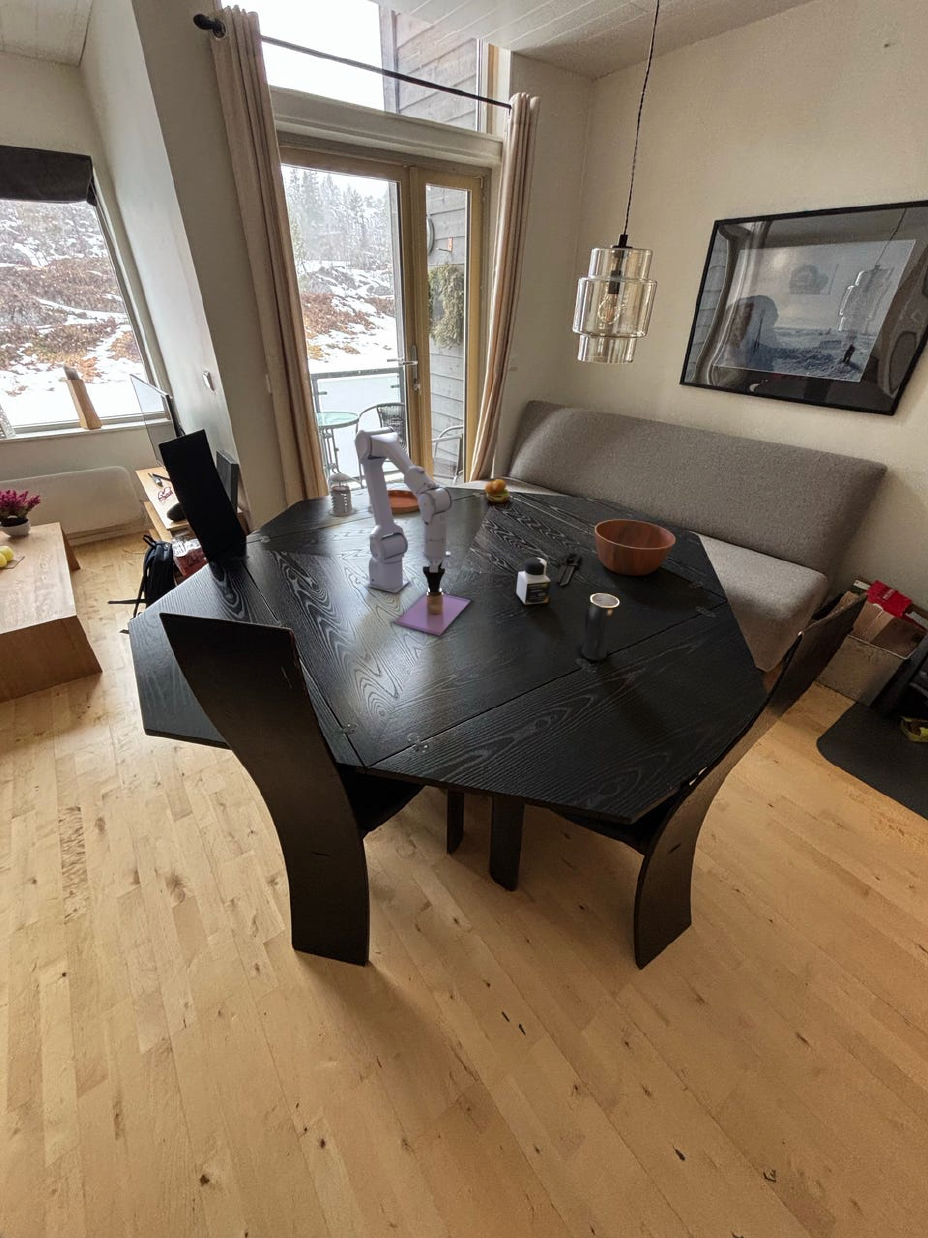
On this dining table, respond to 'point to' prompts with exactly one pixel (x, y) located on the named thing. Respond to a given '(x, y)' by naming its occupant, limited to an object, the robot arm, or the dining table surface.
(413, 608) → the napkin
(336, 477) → the french press
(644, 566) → the bowl
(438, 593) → the salt mill
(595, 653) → the beer glass
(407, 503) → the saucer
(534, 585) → the medicine bottle
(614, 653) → the dining table surface
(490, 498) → the cheeseburger
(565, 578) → the knife
